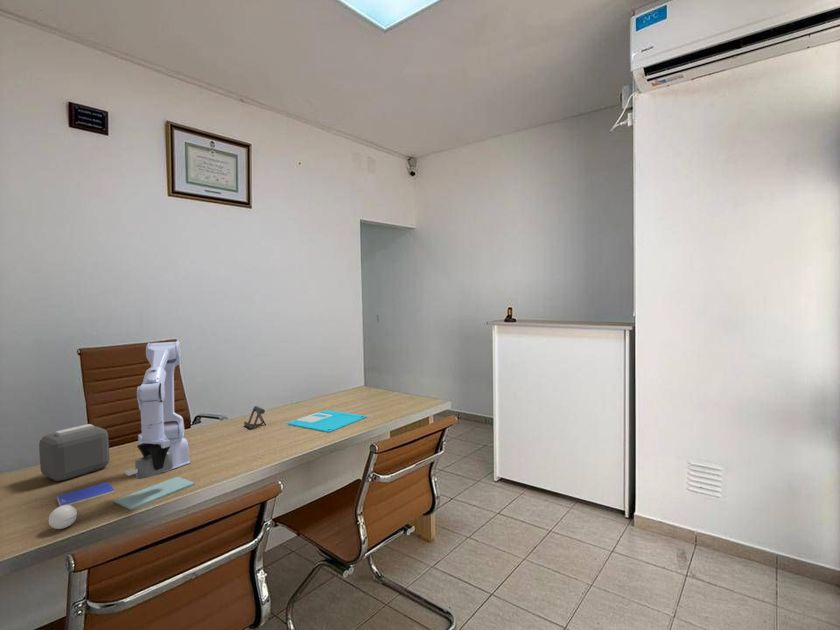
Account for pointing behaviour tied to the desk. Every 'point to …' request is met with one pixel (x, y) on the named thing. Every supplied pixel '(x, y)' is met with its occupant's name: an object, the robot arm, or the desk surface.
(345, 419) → the square teal disk
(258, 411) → the portable electronic device stand
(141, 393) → the robot arm
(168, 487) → the mat
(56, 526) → the white egg
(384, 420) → the desk surface
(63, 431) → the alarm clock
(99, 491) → the hard drive
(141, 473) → the plug
